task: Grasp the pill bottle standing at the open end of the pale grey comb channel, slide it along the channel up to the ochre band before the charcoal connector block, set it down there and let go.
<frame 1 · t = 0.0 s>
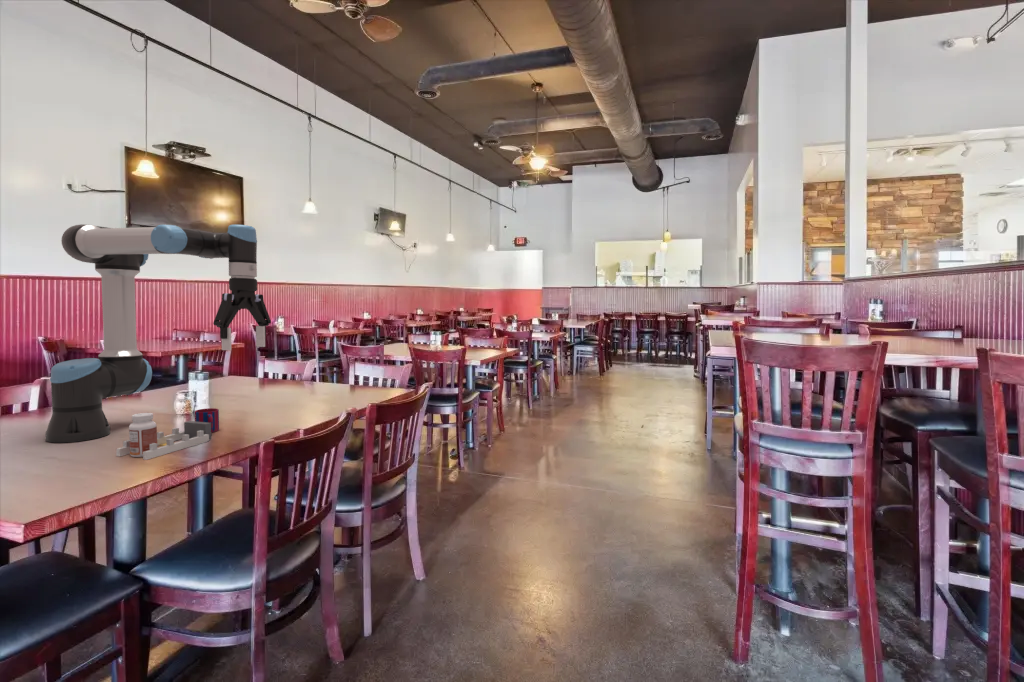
hand: (244, 348, 156), 28 cm above the table, fingers open, 13 cm apart
comb channel: (165, 448, 147), on the table
pill bottle: (143, 455, 141), on the table
mug: (207, 432, 166), on the table
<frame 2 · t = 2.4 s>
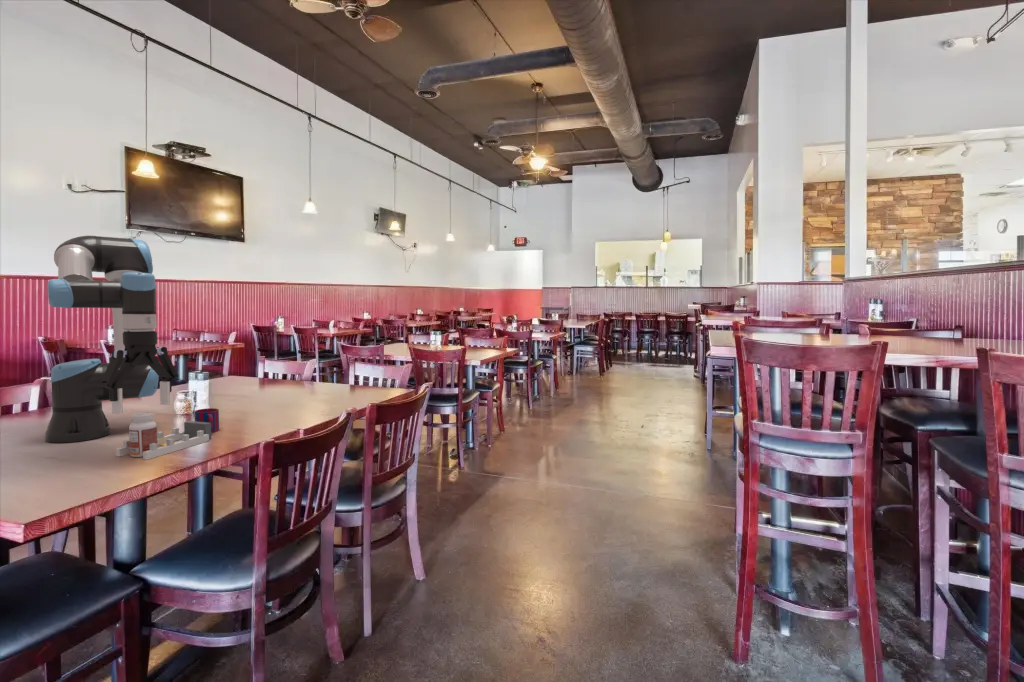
hand: (142, 408, 140), 13 cm above the table, fingers open, 13 cm apart
nothing on the table moved.
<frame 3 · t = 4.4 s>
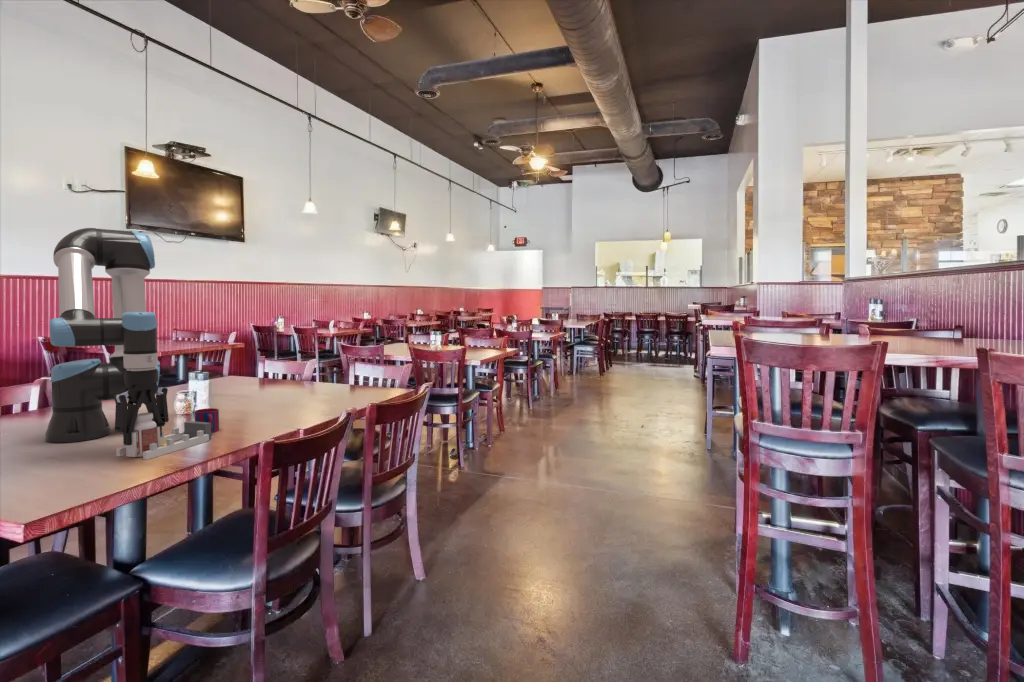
hand: (143, 452, 141), 0 cm above the table, fingers closed on pill bottle, 6 cm apart
pill bottle: (143, 455, 141), on the table, touching gripper
everything else where it was.
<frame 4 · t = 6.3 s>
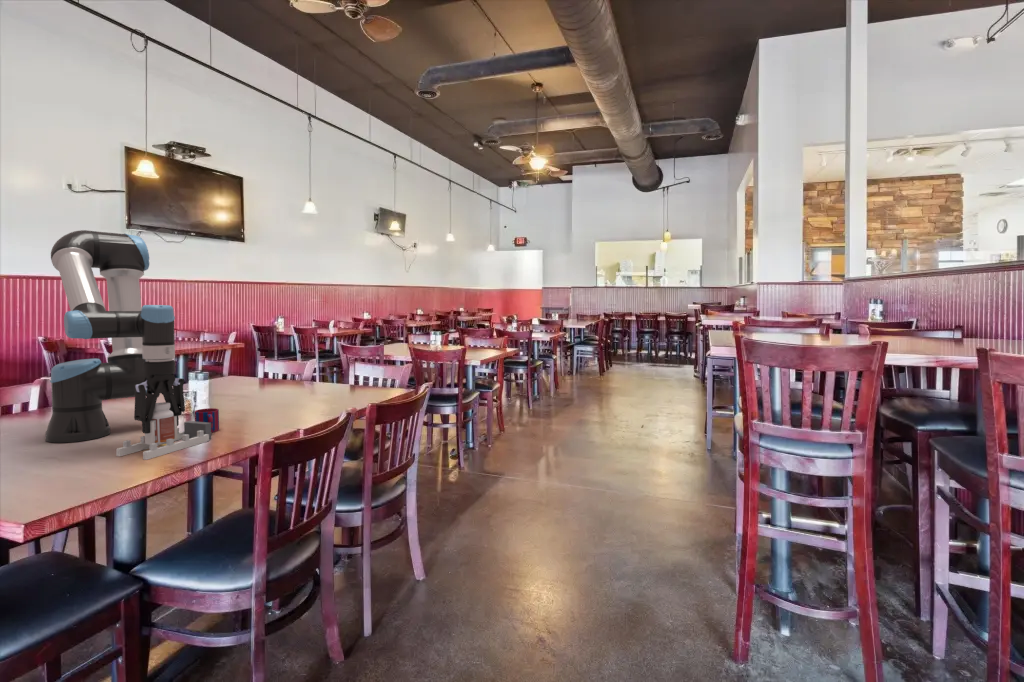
hand: (161, 440, 146), 2 cm above the table, fingers closed on pill bottle, 6 cm apart
pill bottle: (161, 443, 146), point 2 cm above the table, touching gripper
everything else where it was.
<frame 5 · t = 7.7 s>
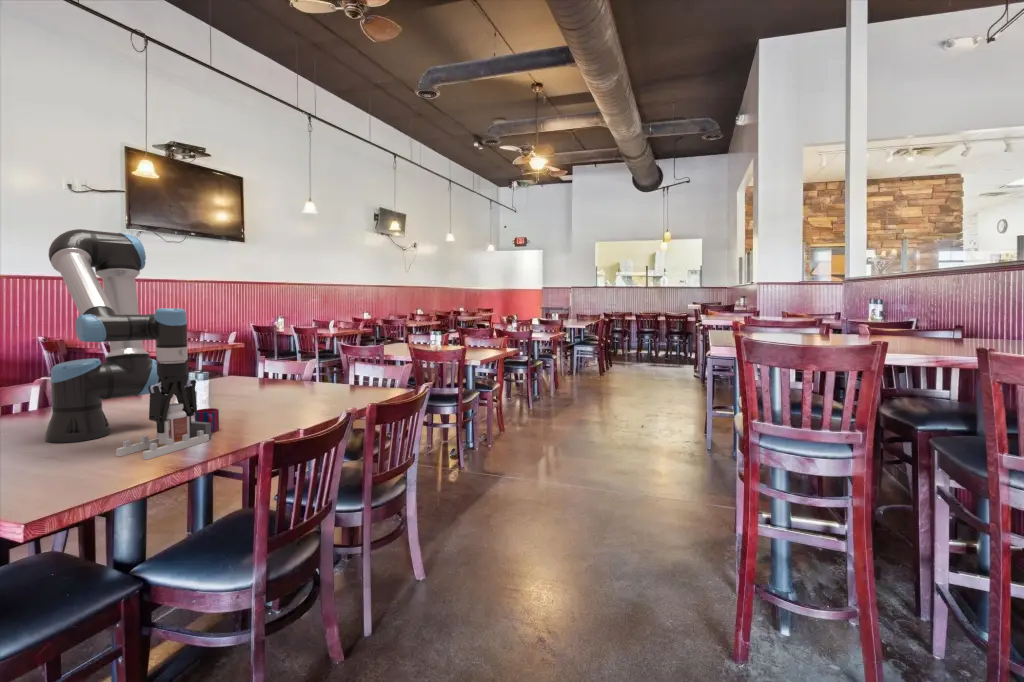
hand: (174, 440, 150), 1 cm above the table, fingers closed on pill bottle, 6 cm apart
pill bottle: (174, 442, 150), point 1 cm above the table, touching gripper
everything else where it was.
when the fingers open (1 cm above the table, at t = 8.4 s): pill bottle stays where it is, resting on comb channel.
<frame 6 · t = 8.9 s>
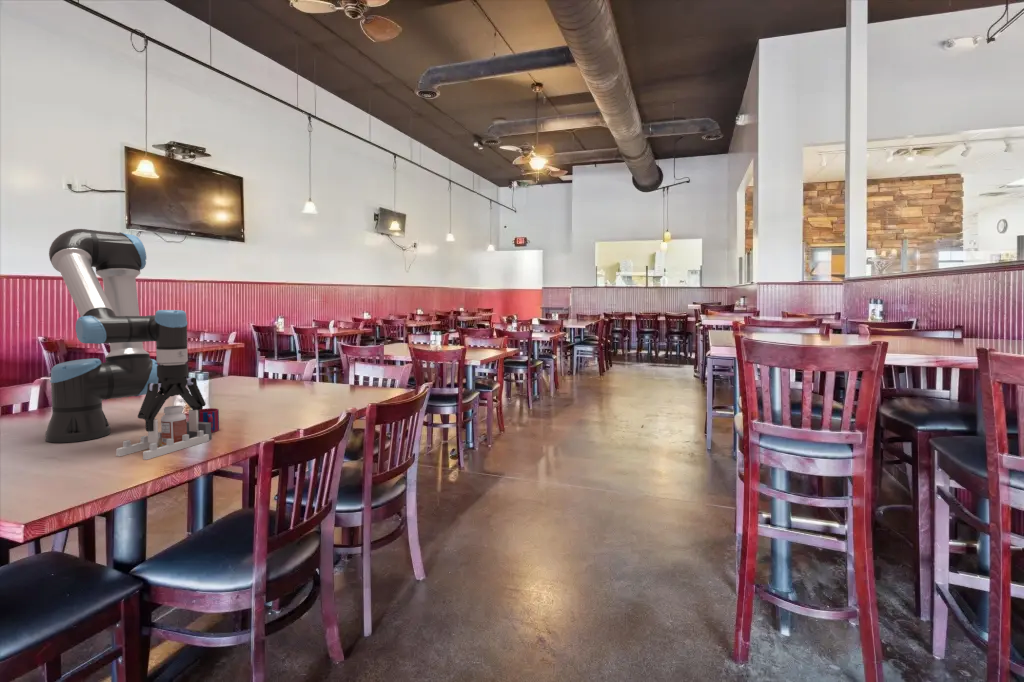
hand: (174, 436, 150), 3 cm above the table, fingers open, 13 cm apart
pill bottle: (174, 445, 150), resting on comb channel
everything else where it was.
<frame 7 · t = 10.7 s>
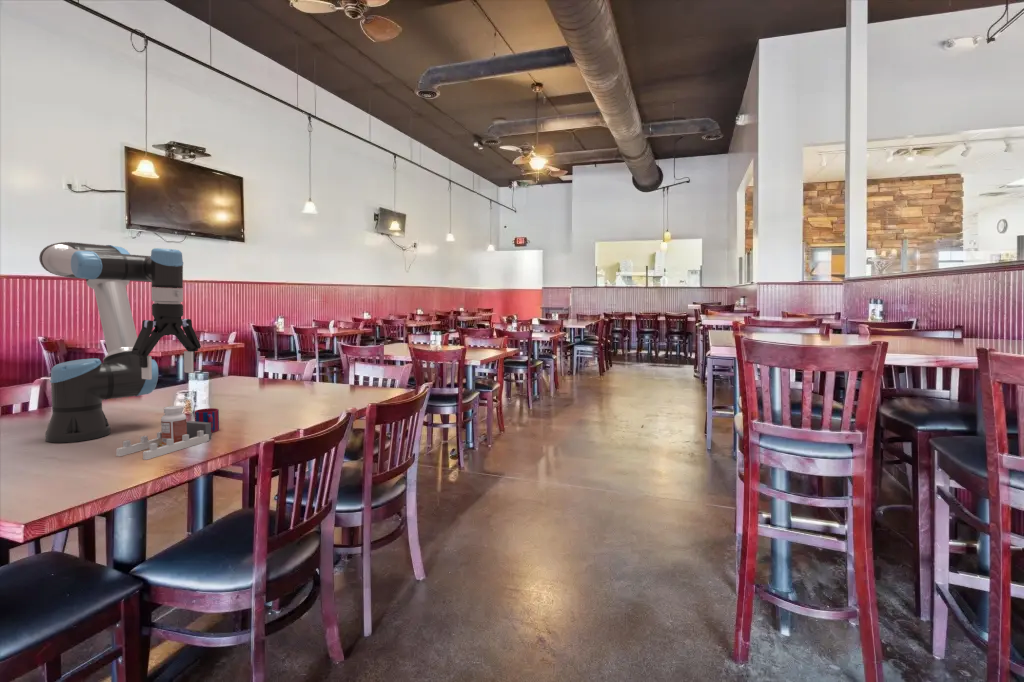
hand: (168, 375, 150), 20 cm above the table, fingers open, 13 cm apart
nothing on the table moved.
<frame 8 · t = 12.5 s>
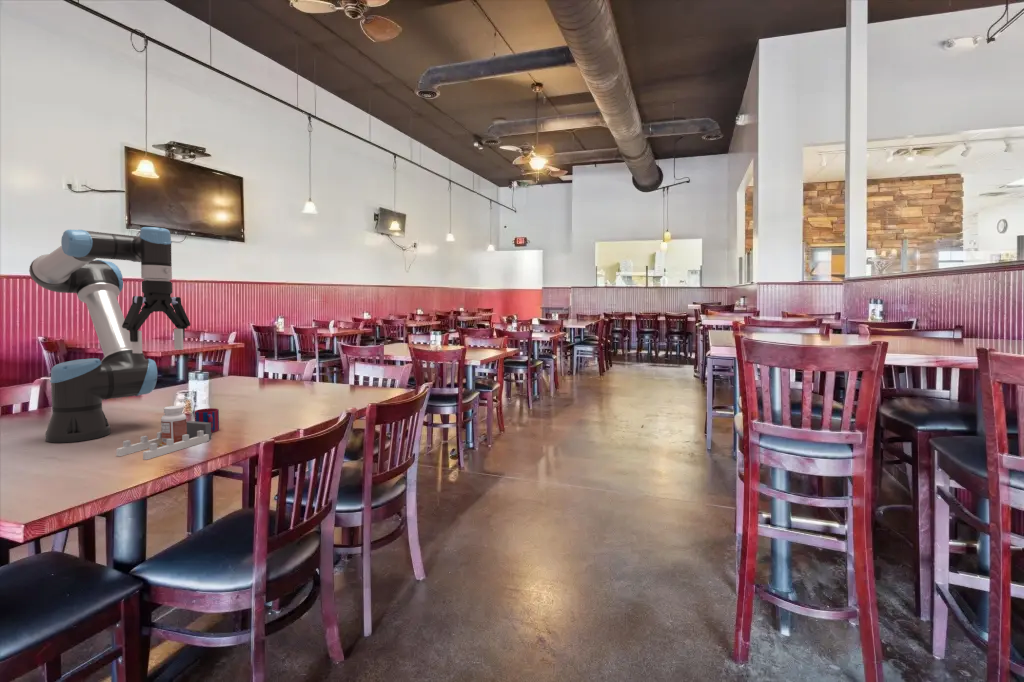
hand: (159, 351, 155), 27 cm above the table, fingers open, 13 cm apart
nothing on the table moved.
at the end: pill bottle tilted 0°; the gripper is holding nothing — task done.
